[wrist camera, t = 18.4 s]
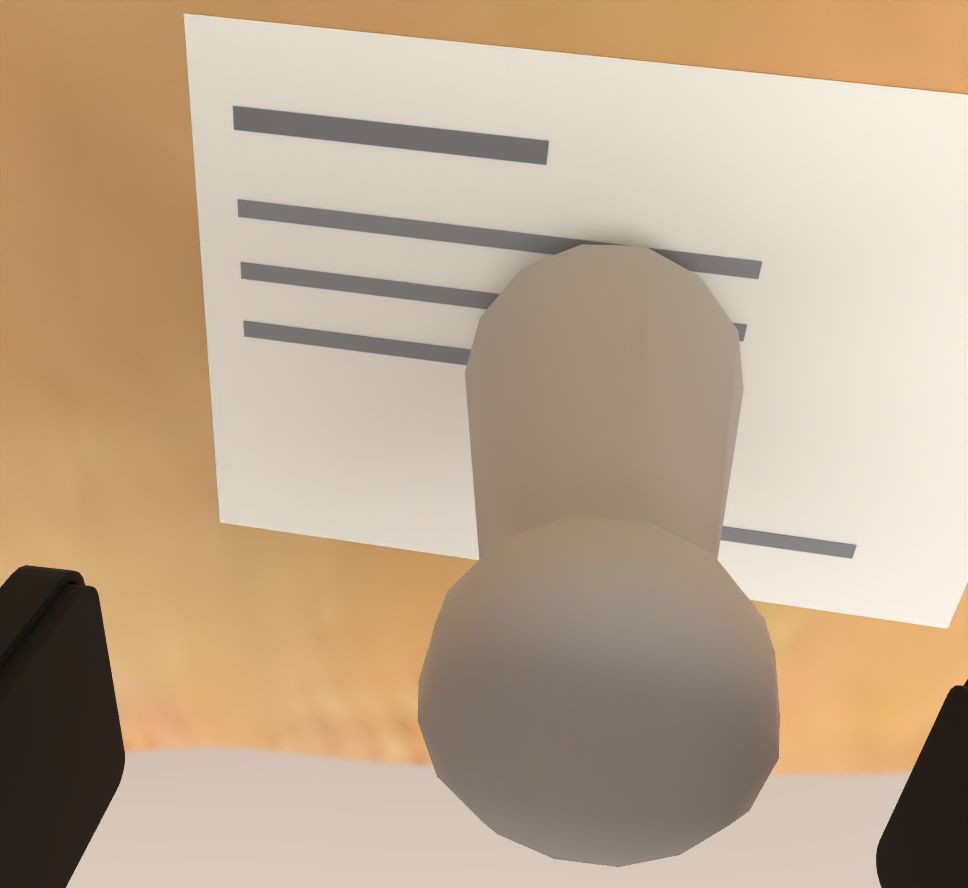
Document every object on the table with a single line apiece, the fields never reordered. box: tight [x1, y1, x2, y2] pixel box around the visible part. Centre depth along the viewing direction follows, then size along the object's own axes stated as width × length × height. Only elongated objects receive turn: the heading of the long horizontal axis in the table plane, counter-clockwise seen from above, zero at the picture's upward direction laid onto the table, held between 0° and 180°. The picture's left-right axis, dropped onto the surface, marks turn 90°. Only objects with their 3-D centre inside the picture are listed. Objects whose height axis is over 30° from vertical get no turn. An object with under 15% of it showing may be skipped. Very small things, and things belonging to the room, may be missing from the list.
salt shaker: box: [418, 244, 780, 867], centre depth 15 cm, size 6×6×13 cm
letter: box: [184, 13, 968, 629], centre depth 21 cm, size 20×13×1 cm, turn 85°
